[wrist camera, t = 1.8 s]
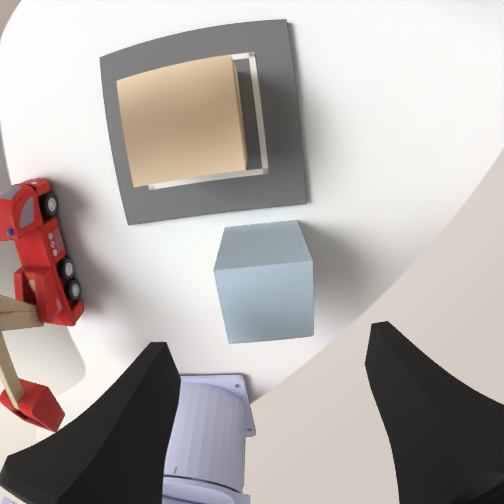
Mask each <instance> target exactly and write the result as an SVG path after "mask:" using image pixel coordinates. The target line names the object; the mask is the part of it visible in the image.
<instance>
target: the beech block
mask: <svg viewBox="0 0 504 504" xmlns="http://www.w3.org/2000/svg"><path fill="white" fill-rule="evenodd" d="M117 90H118V98H119V106H120V113H121V120H122V126H123V133H124V139H125V145H126V150H127V156H128V161H129V167H130V172H131V177H132V182H133V186H134V188H135V187H140V186H145V185H150V184H156V183H162V182H167V181H173V180H179V179H186V178H192V177H199V176H206V175H213V174H220V173H228V172H236V171H244V170H246V165H247V160H248V153H247V145H246V137H245V129H244V121H243V113H242V105H241V97H240V89H239V82H238V74H237V70H236V67H235V64H234V62H233V59H232V57H231V54H230V55H223V56H217V57H211V58H205V59H199V60H194V61H189V62H184V63H180V64H175V65H171V66H167V67H162V68H158V69H155V70H151V71H147V72H144V73H140V74H137V75H133V76H130V77H127V78H123V79H120V80H117Z"/></svg>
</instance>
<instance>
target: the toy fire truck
mask: <svg viewBox="0 0 504 504" xmlns="http://www.w3.org/2000/svg"><path fill="white" fill-rule="evenodd" d="M50 191H51V185H50V183H49V182H48V181H47V180H44V179H40V178H35V179H30V180H27V181H24V182H22V183H20V184H15V185H12V186H10V187H9V188H7V189H6V190H4V191H3V192H2V193H0V241H8V240H14V242H15V245H16V248H17V251H18V254H19V257H20V261H21V264H22V267H21V268H19V269H18V270H17V271H16V272H14V285H15V298H16V300H15V299H12V298H9V297H5V296H2V295H0V378H1V380H2V383H3V385H4V387H5V390H3V392H2V393H1V395H0V402H1V403H2V404H3V405H4V406H5V407H7V408H8V409H9V410H10V411H12V412H13V413H14V414H15V415H17V416H19V417H20V418H21V419H22V420H24V421H26V422H29V423H31V424H34V425H36V426H39V427H42V428H44V429H47V430H50V431H53V432H57V430H58V429H59V426H60V424H61V423H62V420H63V418H64V416H65V413H64V412H63V410H62V408H61V407H60V405H59V404H58V402H57V400H56V399H55V397H54V395H53V394H52V392H51V391H50V389H49V388H48V387H47V386H44V385H40V384H36V383H32V382H29V381H25V380H22V379H20V378H18V376H17V374H16V371H15V369H14V366H13V363H12V361H11V358H10V355H9V353H8V350H7V347H6V344H5V341H4V338H3V335H2V331H5V330H14V329H22V328H32V327H40V326H43V325H44V322H46V323H50V324H57V325H65V326H74V325H76V321H77V320H78V319H79V317H80V316H81V315H82V313H83V312H84V306H83V303H82V301H81V300H77V299H78V298H79V296H80V293H81V288H80V284H79V282H78V281H76V280H68V279H70V278H71V277H72V276H73V274H74V265H73V262H72V260H71V259H68V258H65V255H66V250H65V246H64V242H63V238H62V235H61V230H60V226H59V222H58V219H57V217H56V216H54V215H55V213H56V211H57V208H58V201H57V198H56V196H55V195H54V194H52V193H50Z"/></svg>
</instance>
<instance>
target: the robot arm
mask: <svg viewBox="0 0 504 504" xmlns="http://www.w3.org/2000/svg"><path fill="white" fill-rule="evenodd" d="M365 367H366V371H367V375H368V379H369V383H370V387H371V390H372V393H373V396H374V398H375V401H376V404H377V406H378V409H379V412H380V415H381V417H382V420H383V423H384V426H385V429H386V431H387V434H388V436H389V441H390V444H391V448H392V453H393V458H394V464H395V470H396V476H397V483H398V491H399V502H400V504H504V405H503V404H501V403H499V402H496V401H494V400H492V399H490V398H488V397H486V396H485V395H483V394H481V393H479V392H477V391H475V390H474V389H472V388H470V387H469V386H467V385H466V384H464V383H462V382H461V381H459V380H458V379H456V378H455V377H454V376H452V375H451V374H449V373H448V372H447V371H445V370H444V369H443V368H442V367H440V366H439V365H438V364H436V363H435V362H434V361H433V360H431V359H430V358H429V357H428V356H427V355H425V354H424V353H423V352H422V351H421V350H419V349H418V348H417V347H416V346H415V345H414V344H413V343H412V342H410V341H409V340H408V339H407V338H406V337H405V336H404V335H402V333H400V332H399V331H398V330H397V329H396V328H395V327H394V326H392V324H390V323H389V322H388V321H385V322H379V323H373V324H372V325H371V332H370V338H369V344H368V350H367V355H366V361H365ZM255 435H256V430H255V425H254V421H253V417H252V412H251V408H250V403H249V399H248V394H247V390H246V385H245V381H244V377H243V376H241V375H212V376H180V375H179V373H178V370H177V368H176V366H175V363H174V361H173V358H172V356H171V353H170V351H169V348H168V345H167V343H166V342H151V343H150V344H149V345H148V346H147V347H146V348H145V349H144V350H143V351H142V353H141V354H140V355H139V356H138V357H137V358H136V359H135V361H134V362H133V363H132V364H131V365H130V366H129V367H128V368H127V370H126V371H125V372H124V373H123V374H122V375H121V376H120V377H119V378H118V379H117V381H116V382H115V383H114V384H113V385H112V386H111V387H110V388H109V389H108V390H107V391H106V392H105V393H104V394H103V395H102V396H101V397H100V398H99V399H98V400H97V401H96V402H95V403H94V404H92V405H91V406H90V407H89V408H88V409H87V410H85V411H84V412H83V413H82V414H81V415H79V416H78V417H77V418H76V419H74V420H73V421H72V422H70V423H69V424H67V425H66V426H64V427H63V428H62V429H60V430H59V431H57V432H56V433H54V434H53V435H51V436H49V437H47V438H46V439H44V440H42V441H40V442H38V443H37V444H35V445H33V446H31V447H28V448H26V449H24V450H21V451H19V452H17V453H14V454H12V455H9V456H8V457H7V459H6V461H5V463H4V465H3V468H2V470H1V473H0V486H1V487H3V488H4V489H5V490H7V491H8V492H10V493H11V494H12V495H14V496H15V497H17V498H18V499H20V500H22V501H23V502H25V503H27V504H250V495H247V494H242V489H243V486H244V469H245V467H244V466H245V437H252V436H255ZM1 504H16V503H15V502H13V501H12V500H10V499H9V498H7V497H3V500H2V502H1Z"/></svg>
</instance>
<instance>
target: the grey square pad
mask: <svg viewBox="0 0 504 504" xmlns="http://www.w3.org/2000/svg"><path fill="white" fill-rule="evenodd" d="M230 54H231V57H232V59H233V62H234V64H235V67H236V70H237V74H238V82H239V89H240V97H241V105H242V113H243V121H244V129H245V137H246V145H247V153H248V160H247V165H246V170H244V171H236V172H228V173H220V174H213V175H206V176H199V177H192V178H186V179H179V180H173V181H167V182H162V183H156V184H150V185H145V186H140V187H135V188H134V186H133V182H132V177H131V172H130V167H129V161H128V156H127V150H126V145H125V139H124V133H123V126H122V120H121V113H120V106H119V98H118V90H117V80H120V79H123V78H127V77H130V76H133V75H137V74H140V73H144V72H147V71H151V70H155V69H158V68H162V67H167V66H171V65H175V64H180V63H184V62H189V61H194V60H199V59H205V58H211V57H217V56H223V55H230ZM100 68H101V79H102V88H103V97H104V105H105V112H106V119H107V126H108V132H109V138H110V144H111V150H112V155H113V161H114V166H115V171H116V176H117V181H118V185H119V190H120V194H121V199H122V203H123V207H124V211H125V215H126V219H127V223H128V225H135V224H141V223H148V222H155V221H162V220H169V219H177V218H184V217H192V216H200V215H208V214H216V213H224V212H233V211H242V210H251V209H260V208H270V207H280V206H290V205H301V204H306V190H305V176H304V163H303V151H302V140H301V129H300V119H299V110H298V101H297V92H296V84H295V76H294V68H293V61H292V54H291V47H290V40H289V33H288V27H287V21H286V19H281V20H264V21H253V22H243V23H235V24H227V25H220V26H214V27H208V28H203V29H197V30H192V31H187V32H183V33H178V34H174V35H170V36H166V37H162V38H158V39H154V40H151V41H147V42H144V43H141V44H137V45H134V46H131V47H128V48H125V49H122V50H119V51H116V52H113V53H110V54H108V55H105V56H102V57H100Z"/></svg>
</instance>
